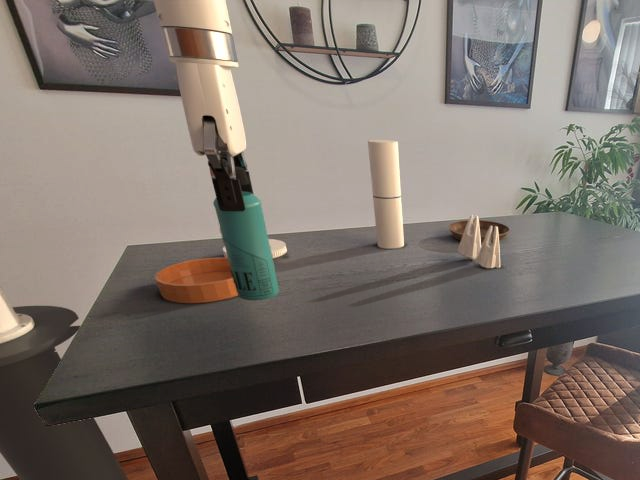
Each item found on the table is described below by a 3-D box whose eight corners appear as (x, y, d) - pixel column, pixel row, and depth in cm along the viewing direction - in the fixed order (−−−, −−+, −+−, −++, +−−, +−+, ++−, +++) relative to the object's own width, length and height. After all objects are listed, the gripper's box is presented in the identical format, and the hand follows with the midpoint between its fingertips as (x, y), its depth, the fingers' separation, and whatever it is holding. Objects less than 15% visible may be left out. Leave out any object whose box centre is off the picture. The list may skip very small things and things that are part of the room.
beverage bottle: (285, 294, 75) (260, 164, 64) (277, 309, 70) (248, 170, 59) (244, 295, 74) (211, 163, 63) (233, 310, 69) (195, 169, 58)
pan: (147, 306, 82) (140, 288, 80) (176, 275, 96) (170, 259, 94) (248, 299, 86) (243, 282, 84) (261, 271, 100) (257, 255, 98)
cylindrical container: (381, 249, 117) (371, 142, 103) (374, 242, 122) (364, 139, 108) (407, 247, 119) (401, 142, 106) (400, 240, 125) (393, 139, 111)
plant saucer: (516, 245, 124) (517, 234, 123) (454, 247, 121) (454, 235, 119) (500, 229, 139) (501, 219, 137) (444, 230, 135) (444, 220, 133)
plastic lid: (295, 249, 114) (293, 239, 113) (275, 266, 103) (273, 255, 101) (240, 248, 114) (237, 238, 112) (214, 265, 102) (211, 254, 101)
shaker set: (456, 258, 112) (456, 213, 106) (468, 255, 114) (468, 210, 108) (489, 270, 105) (491, 222, 99) (501, 267, 107) (504, 220, 101)
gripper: (188, 53, 60) (223, 193, 70) (140, 41, 46) (192, 219, 56) (248, 57, 62) (273, 194, 72) (219, 48, 48) (256, 219, 58)
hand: (238, 204), depth 64 cm, fingers closed on beverage bottle, 6 cm apart
